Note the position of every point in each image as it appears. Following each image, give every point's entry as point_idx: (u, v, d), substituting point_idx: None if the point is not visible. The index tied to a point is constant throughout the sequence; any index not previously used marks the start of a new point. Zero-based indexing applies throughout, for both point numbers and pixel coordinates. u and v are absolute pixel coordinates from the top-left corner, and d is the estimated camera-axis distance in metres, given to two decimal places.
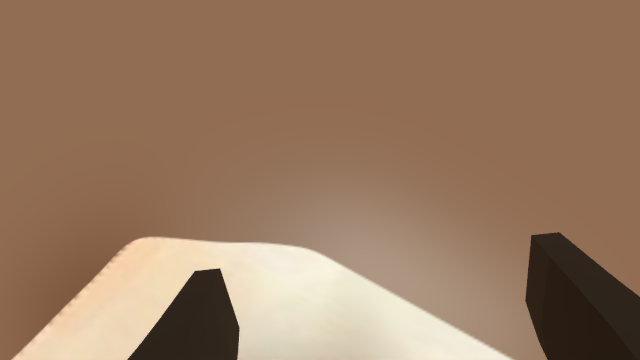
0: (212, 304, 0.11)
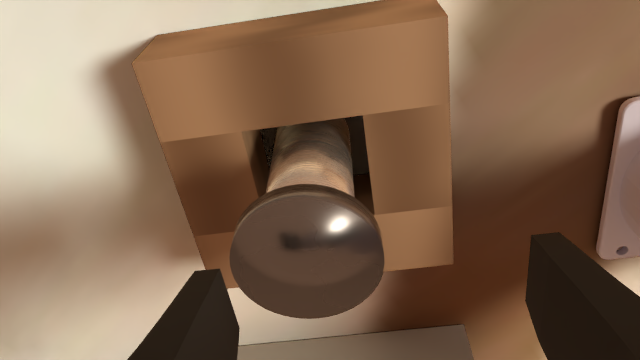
0: (212, 304, 0.11)
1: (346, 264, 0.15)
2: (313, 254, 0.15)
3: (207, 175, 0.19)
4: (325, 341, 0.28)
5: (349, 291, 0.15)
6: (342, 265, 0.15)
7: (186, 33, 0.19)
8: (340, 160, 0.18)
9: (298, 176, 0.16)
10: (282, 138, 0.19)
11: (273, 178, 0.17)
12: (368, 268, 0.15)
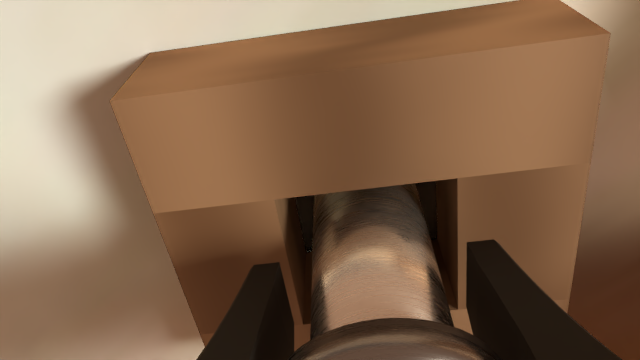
0: (276, 298, 0.11)
1: None
2: None
3: (221, 258, 0.13)
4: None
5: None
6: None
7: (192, 51, 0.13)
8: (423, 245, 0.12)
9: (371, 282, 0.10)
10: (330, 203, 0.13)
11: (326, 277, 0.11)
12: None
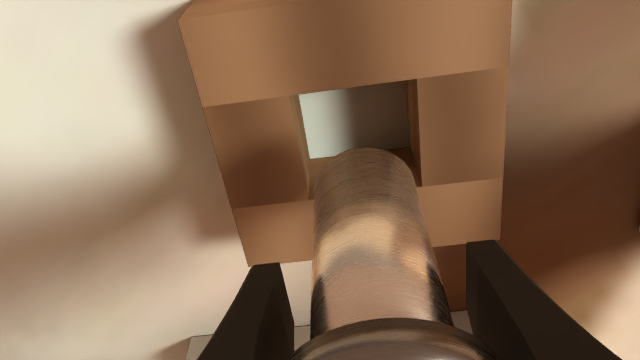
0: (276, 298, 0.11)
1: None
2: None
3: (250, 143, 0.18)
4: None
5: None
6: None
7: None
8: (423, 246, 0.12)
9: (371, 282, 0.10)
10: (330, 203, 0.13)
11: (326, 277, 0.11)
12: None
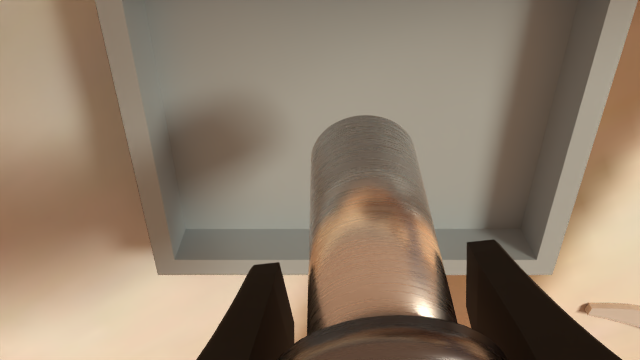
0: (276, 298, 0.11)
1: None
2: None
3: None
4: None
5: None
6: None
7: None
8: (425, 225, 0.11)
9: (371, 269, 0.10)
10: (328, 177, 0.13)
11: (324, 260, 0.11)
12: None
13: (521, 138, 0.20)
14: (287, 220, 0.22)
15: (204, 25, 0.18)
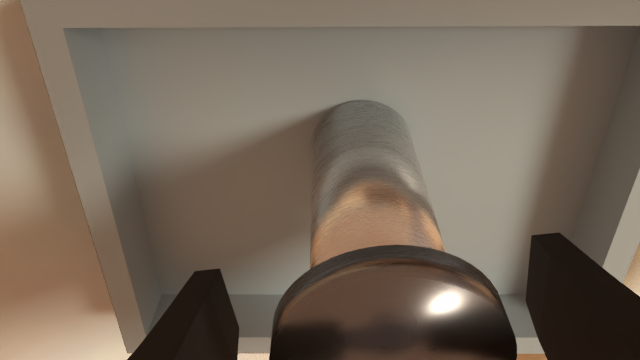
0: (212, 304, 0.11)
1: None
2: (404, 354, 0.09)
3: None
4: None
5: None
6: None
7: None
8: (420, 189, 0.12)
9: (370, 219, 0.11)
10: (328, 151, 0.13)
11: (325, 218, 0.11)
12: None
13: (559, 195, 0.17)
14: (281, 285, 0.19)
15: (176, 66, 0.15)
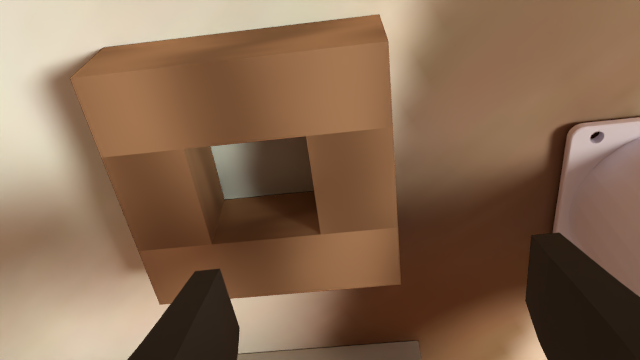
0: (212, 304, 0.11)
1: None
2: None
3: (150, 191, 0.19)
4: (280, 354, 0.28)
5: None
6: None
7: (132, 47, 0.19)
8: None
9: None
10: None
11: None
12: None
13: None
14: None
15: None
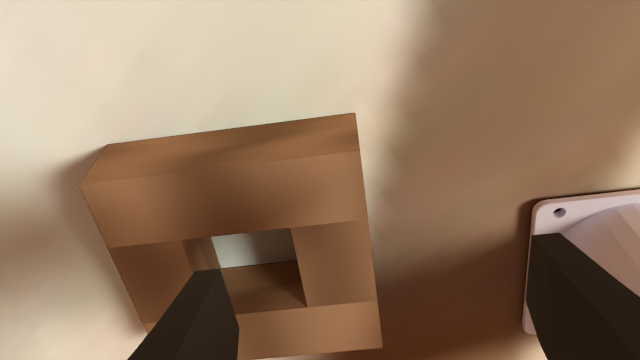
0: (212, 304, 0.11)
1: None
2: None
3: (152, 275, 0.21)
4: None
5: None
6: None
7: (133, 145, 0.21)
8: None
9: None
10: None
11: None
12: None
13: None
14: None
15: None
